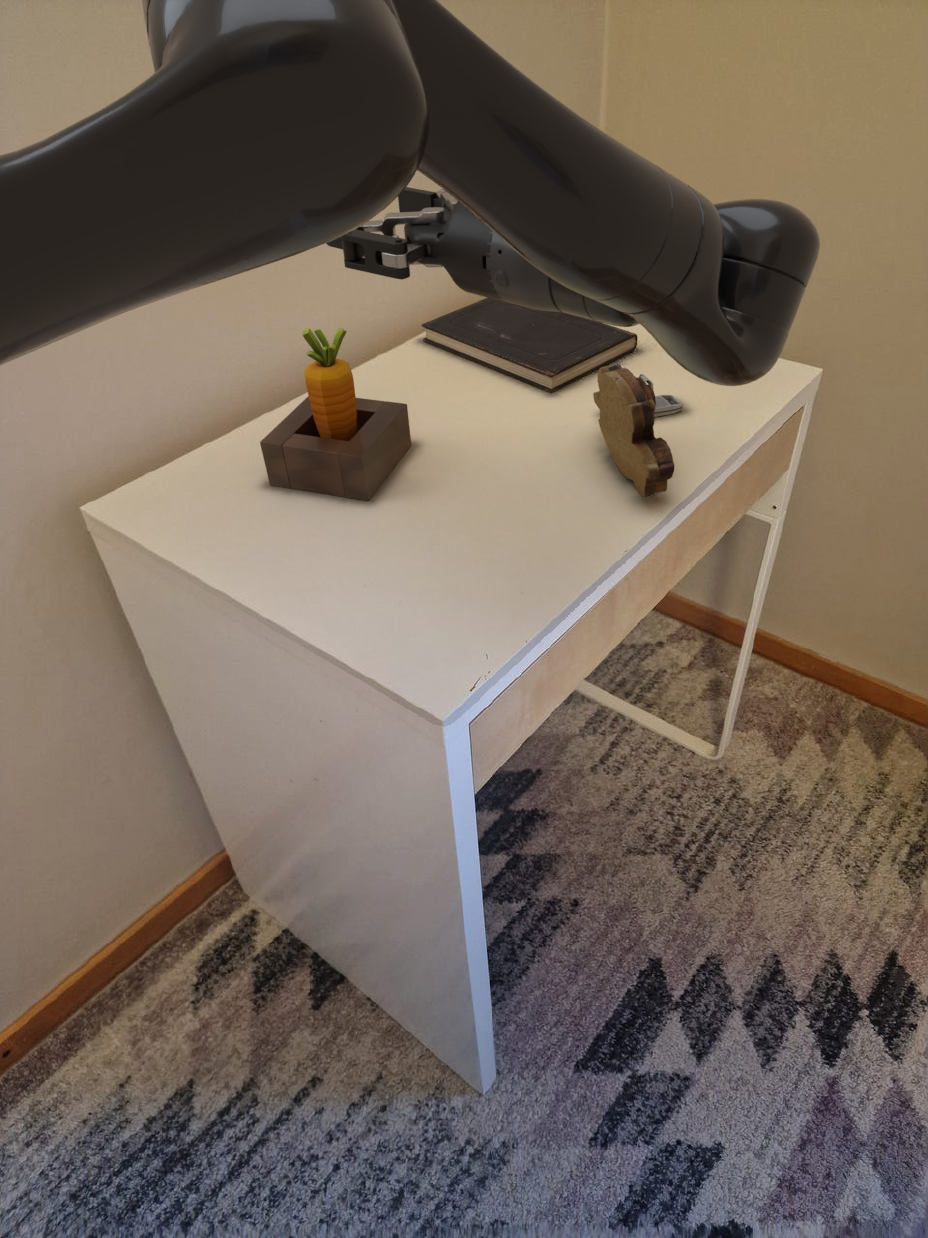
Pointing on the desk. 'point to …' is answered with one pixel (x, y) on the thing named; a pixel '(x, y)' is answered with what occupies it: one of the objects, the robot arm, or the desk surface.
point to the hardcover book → (529, 342)
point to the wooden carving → (633, 429)
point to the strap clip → (664, 402)
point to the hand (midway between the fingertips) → (364, 214)
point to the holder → (338, 451)
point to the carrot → (330, 387)
